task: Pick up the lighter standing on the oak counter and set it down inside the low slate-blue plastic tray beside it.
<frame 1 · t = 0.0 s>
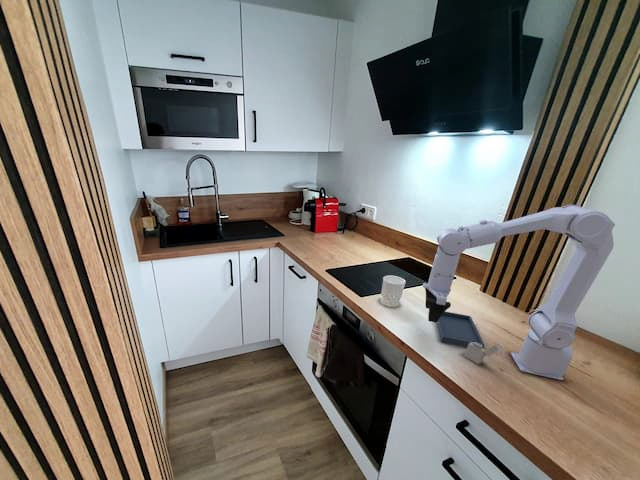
hand: (430, 314, 84), 10 cm above the worktop, tool pointing down, fingers open, 7 cm apart
lighter: (478, 362, 81), on the worktop
tray: (455, 330, 94), on the worktop
white cup: (389, 303, 110), on the worktop
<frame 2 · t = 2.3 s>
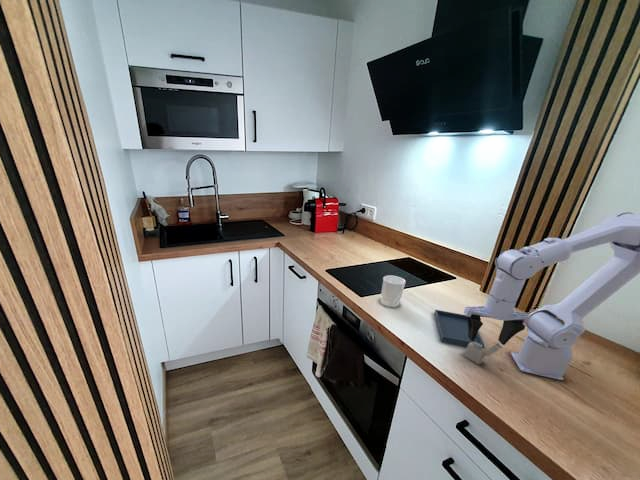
hand: (486, 340, 78), 7 cm above the worktop, tool pointing down, fingers open, 7 cm apart
nothing on the worktop moved.
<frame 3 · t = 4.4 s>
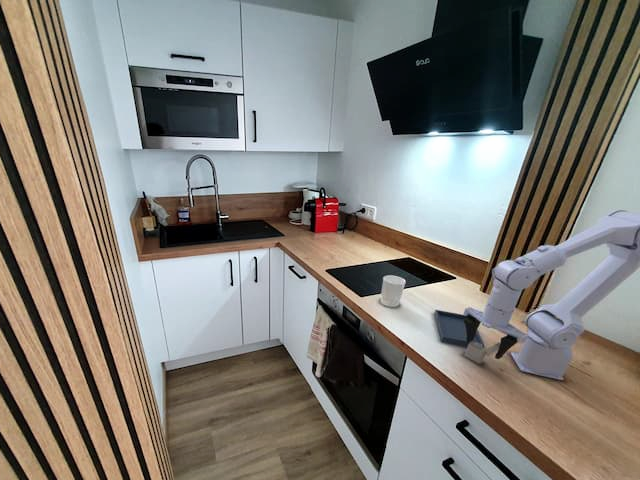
hand: (483, 348, 79), 5 cm above the worktop, tool pointing down, fingers closed on lighter, 7 cm apart
lighter: (478, 362, 81), on the worktop, touching gripper
everything else where it was.
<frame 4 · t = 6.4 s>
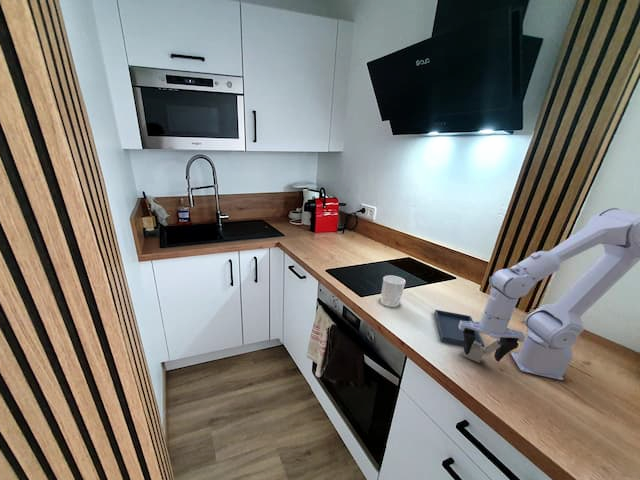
hand: (480, 355, 80), 2 cm above the worktop, tool pointing down, fingers closed on lighter, 7 cm apart
lighter: (477, 361, 81), on the worktop, touching gripper
everything else where it was.
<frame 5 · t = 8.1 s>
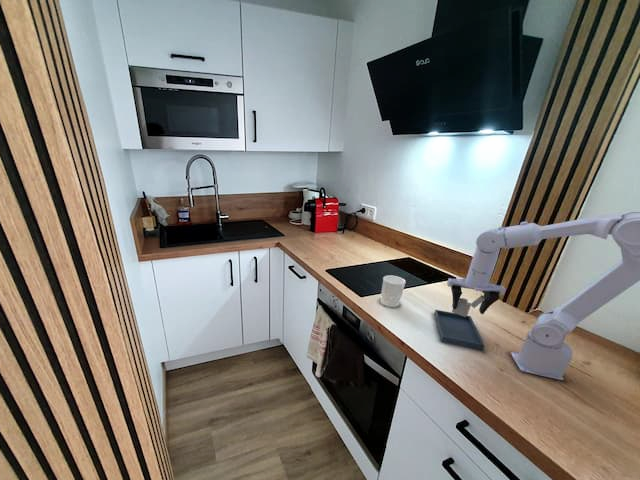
hand: (467, 309, 89), 9 cm above the worktop, tool pointing down, fingers closed on lighter, 7 cm apart
lighter: (464, 316, 90), point 7 cm above the worktop, touching gripper
everything else where it was.
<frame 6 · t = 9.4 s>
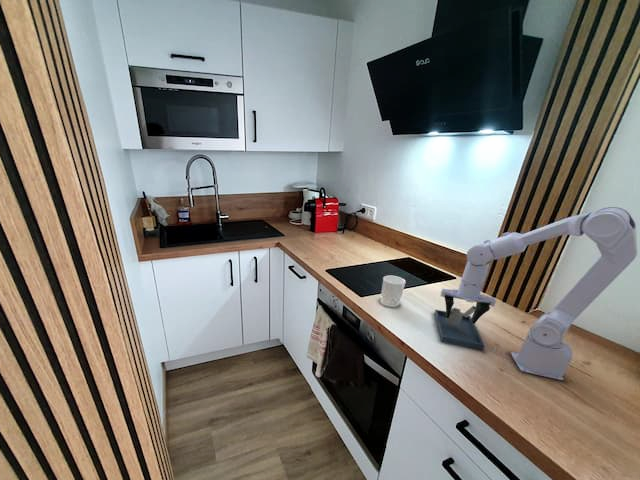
hand: (459, 319, 93), 4 cm above the worktop, tool pointing down, fingers closed on lighter, 7 cm apart
lighter: (457, 325, 94), point 2 cm above the worktop, touching gripper
everything else where it was.
when the fingers open (3 cm above the worktop, at t = 10.6 s): lighter stays where it is, resting on tray.
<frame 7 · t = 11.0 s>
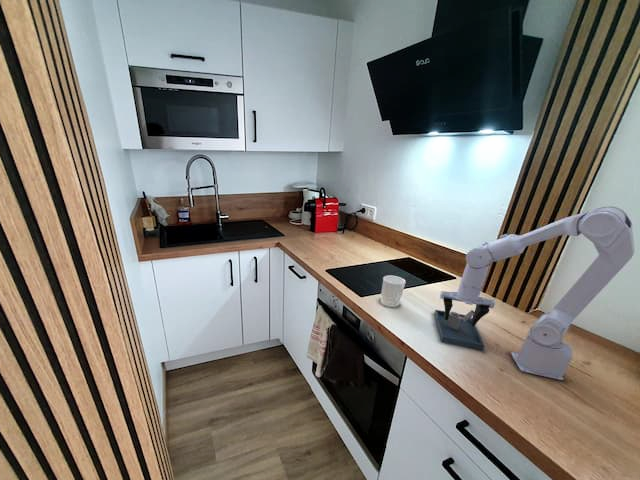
hand: (459, 321, 93), 4 cm above the worktop, tool pointing down, fingers open, 7 cm apart
lighter: (456, 328, 95), resting on tray, touching gripper
everything else where it was.
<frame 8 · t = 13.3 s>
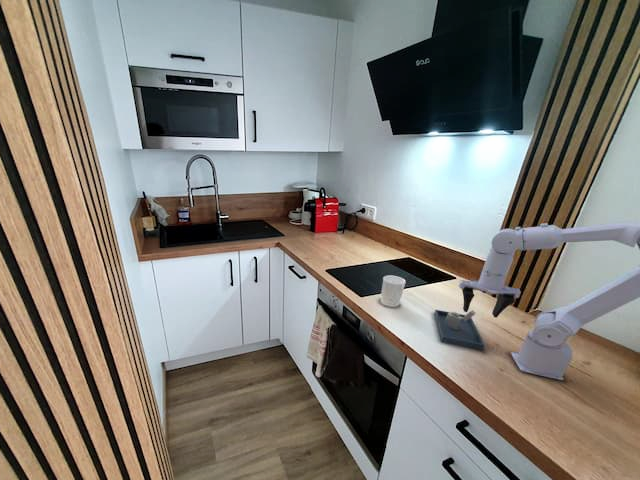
hand: (479, 313, 85), 10 cm above the worktop, tool pointing down, fingers open, 7 cm apart
lighter: (456, 328, 95), resting on tray
everything else where it was.
at the end: lighter inside the target area on the tray (0.7 cm from its centre), point 0.3 cm above the tray's base; the gripper is holding nothing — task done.
